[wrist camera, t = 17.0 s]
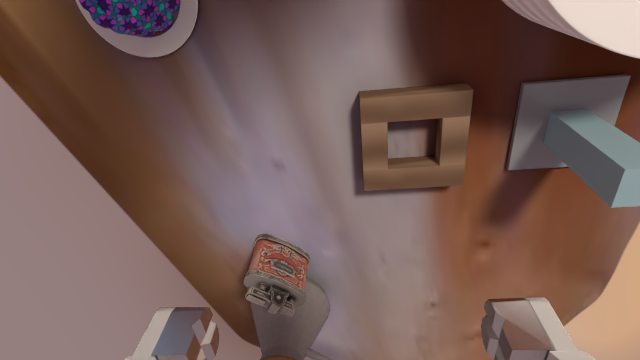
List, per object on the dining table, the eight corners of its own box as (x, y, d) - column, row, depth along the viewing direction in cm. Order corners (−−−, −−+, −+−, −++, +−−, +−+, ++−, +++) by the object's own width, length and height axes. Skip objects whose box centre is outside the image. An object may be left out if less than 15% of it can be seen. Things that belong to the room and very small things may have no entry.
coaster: (521, 82, 38) (524, 84, 37) (626, 74, 37) (630, 75, 36) (506, 167, 43) (508, 170, 43) (598, 162, 42) (601, 164, 42)
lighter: (314, 253, 52) (308, 313, 43) (302, 268, 53) (295, 328, 45) (262, 229, 50) (245, 286, 41) (251, 245, 51) (233, 303, 43)
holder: (358, 91, 39) (359, 99, 37) (466, 82, 38) (473, 89, 36) (363, 180, 45) (364, 190, 43) (456, 174, 44) (462, 185, 42)
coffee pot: (256, 313, 59) (232, 414, 46) (252, 260, 53) (223, 358, 40) (391, 322, 58) (404, 426, 46) (402, 270, 52) (422, 372, 40)
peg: (550, 111, 39) (625, 169, 29) (587, 109, 38) (676, 166, 28) (543, 143, 41) (611, 207, 30) (578, 140, 40) (658, 205, 30)
